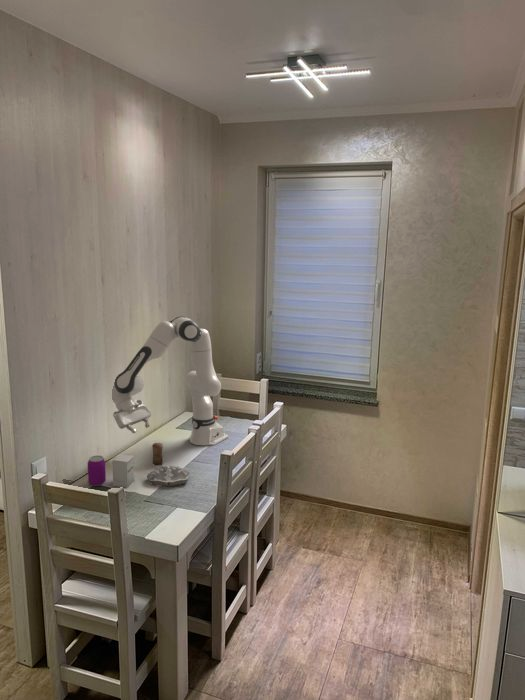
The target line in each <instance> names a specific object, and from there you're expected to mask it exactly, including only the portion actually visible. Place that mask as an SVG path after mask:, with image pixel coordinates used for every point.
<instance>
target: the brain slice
mask: <svg viewBox="0 0 525 700" xmlns="http://www.w3.org/2000/svg"><path fill="white" fill-rule="evenodd" d="M146 479H147V482H148V483H149V484H151V485H153V486H159V487H175V486H182V485H184V484H186V483H187V482H188V481H189V479H190V471H188V470H187V469H184V468H183V467H180V466H178V465H169V466H167V465H166V466H164V465H163V466H162V465H161V466H159V467H157V468H155V469H153V470H151V471H150V472H149V473H147V475H146Z"/></svg>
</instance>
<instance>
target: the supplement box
mask: <svg viewBox="0 0 525 700" xmlns="http://www.w3.org/2000/svg"><path fill="white" fill-rule="evenodd" d="M134 459H135V458H134V455H129V454H122V453H120V454H118V455H117V456H116V457H115V458H113V459H112V460H111V467H112V468H111V469H112V471H111V472H112V473H111V474H112V486H113V487H119V488H126V489H127V488H128V487H129V486H130V485H131V484H132V483H133V482H134V481H135V460H134Z"/></svg>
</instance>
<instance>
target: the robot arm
mask: <svg viewBox="0 0 525 700" xmlns="http://www.w3.org/2000/svg"><path fill="white" fill-rule="evenodd" d="M158 323H159V324H158V325H156V327H154V329H153V330H152V331H151V334H149V337H148V338H147V339H146V341H145V342H144V344H143V345H142V346H141V348H140V349H139V350H138V351H137V353H136V354H135V355H134V357H133V358H132V360H131V361H130V363H129V364H128V365H127V367H125V369H124V370H123V371H122V372H120V373H119V374H118V375H116V377H115V378H116V379H115V382H114V386H113V389H112V400H113V401H112V400H111V401H112V402H113V403H114V404H115V407H116V409H117V410H116V411H114V412H113V414H112V416H113V418H114V420H115V423H116V425H117V427H118V428H119V429H121V430H122V429H125V428H126V430H128V431H130V432H131V433H132V434H136V433H137V430H136V428H133V427H132V426H133V425H136V424H139V423H140V422H141V423H142V422H144V423H145V424H144V427H145V428H146V429H147V428H150V426H151V425H150V423H149V419H150V418H151V416H152V413H151V411H150V409H149V408H148V407H147V405H146V404H144V401H143V400H142V399H135V398H132V397H133V396H135V395H136V394H139V393H140V392H142V391H143V389H144V385H145V384H144V380H143V379H142V377H140V376H138V375H139V374H140V373H141V370H142V369H143V368H144V366H145V365H147V363H149V362H150V361H153V360H155V359H159V358H161V357H162V356H163V355H164V354H165V353H166V351H167V350H168V348H169V346H170V345H171V344H172V342H173V340H175V339H176V338H179V339H182V340H184V341H188V342H189V343H190V356H191V357H190V358H191V360H190V361H191V365H192V366H193V369H194V370H191V371H189V372H188V373H187V375H186V376H185V384H186V385H187V387H188V389H189V393H190V396H191V400H192V416H191V425H192V426H191V434H190V438H189V442H190V443H191V444H192V445H195V446H196V445H197V446H215V445H217V444H219V443H221V442H222V441H224V440H227V439H229V435H228V434H227V433H225V431H224V427H223V426H222V425H221V424H220V423H218V422H217V421H218V420H219V416H217V415H214V403H213V401H212V399H211V397H215V396H216V397H217V395H219V394H220V392H221V391H222V383H221V380H220V379H219V378H218V376H217V373H216V370H215V368H214V363H213V356H212V355H213V352H212V351H213V350H212V342H211V336H210V332H209V331H208V330H207V329H205V328H200V326H199V325H198V324H197V323H196V322H195V321H194V320H192V319H191V318H189V317H186V316H178V317H175V318H174V319H172V320H170V321H167V320H162V321H161V322H158Z"/></svg>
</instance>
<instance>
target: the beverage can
mask: <svg viewBox="0 0 525 700" xmlns="http://www.w3.org/2000/svg"><path fill="white" fill-rule="evenodd" d="M106 472H107V471H106V460H105V458H104V456H103V455H93V456H90V457H89V458H88V461H87V482H88V485H90V486H92V487H98V486H102V485H103V484H104V483H106V481H107V478H106V477H107V475H106Z"/></svg>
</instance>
